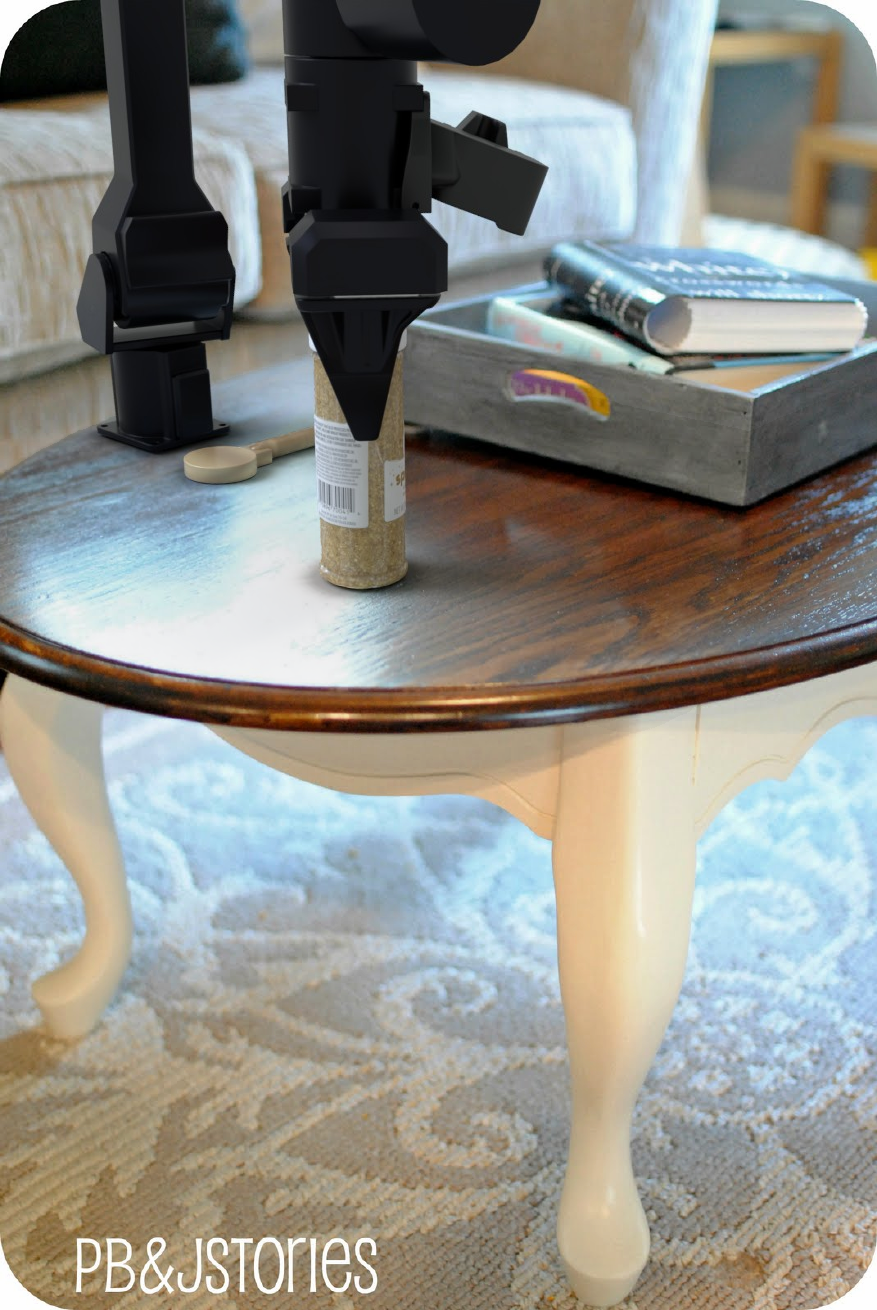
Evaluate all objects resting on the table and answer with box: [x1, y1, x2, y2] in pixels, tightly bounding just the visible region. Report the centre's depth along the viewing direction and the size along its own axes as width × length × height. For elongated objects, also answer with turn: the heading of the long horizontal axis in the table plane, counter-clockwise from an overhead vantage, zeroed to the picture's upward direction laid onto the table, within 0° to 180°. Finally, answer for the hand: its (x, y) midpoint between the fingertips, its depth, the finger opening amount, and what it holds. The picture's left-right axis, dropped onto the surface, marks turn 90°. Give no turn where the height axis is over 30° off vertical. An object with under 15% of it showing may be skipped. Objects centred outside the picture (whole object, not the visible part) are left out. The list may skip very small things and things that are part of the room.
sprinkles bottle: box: [308, 327, 409, 590], centre depth 66 cm, size 5×5×13 cm
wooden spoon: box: [183, 425, 315, 485], centre depth 87 cm, size 15×4×1 cm, turn 137°
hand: (358, 411), depth 65 cm, fingers open, 9 cm apart
